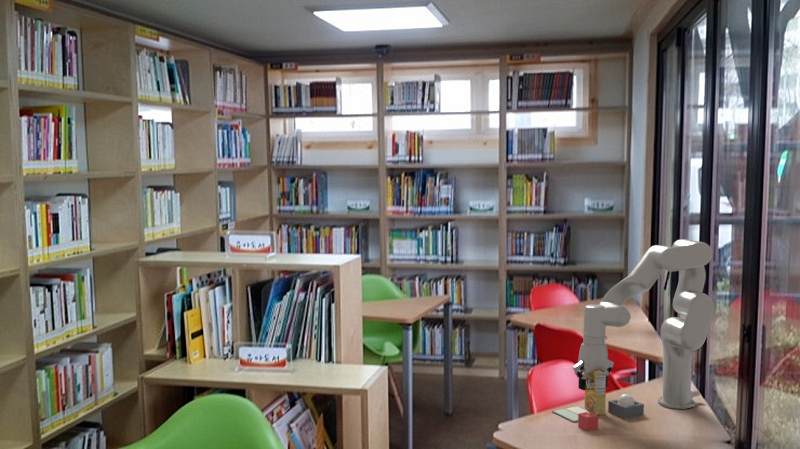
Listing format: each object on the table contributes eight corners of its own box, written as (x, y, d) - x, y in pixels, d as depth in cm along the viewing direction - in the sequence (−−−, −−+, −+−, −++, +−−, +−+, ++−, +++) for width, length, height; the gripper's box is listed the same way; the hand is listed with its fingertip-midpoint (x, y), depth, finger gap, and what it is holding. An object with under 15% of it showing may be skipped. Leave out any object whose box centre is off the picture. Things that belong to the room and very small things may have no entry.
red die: (588, 424, 237) (588, 411, 237) (597, 428, 233) (598, 415, 233) (578, 426, 235) (578, 413, 235) (587, 431, 231) (587, 417, 231)
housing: (626, 407, 253) (626, 397, 253) (643, 414, 245) (643, 404, 245) (608, 411, 249) (608, 401, 249) (625, 418, 242) (625, 408, 242)
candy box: (583, 407, 255) (584, 365, 253) (594, 406, 255) (595, 364, 254) (595, 415, 246) (595, 372, 245) (606, 414, 247) (606, 371, 246)
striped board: (576, 407, 255) (576, 405, 254) (599, 417, 244) (599, 416, 244) (552, 412, 250) (552, 410, 250) (573, 422, 239) (573, 421, 239)
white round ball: (626, 406, 251) (626, 390, 251) (637, 411, 246) (637, 395, 246) (614, 408, 249) (614, 393, 248) (625, 413, 244) (625, 397, 243)
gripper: (606, 335, 256) (604, 382, 257) (567, 340, 248) (566, 387, 249) (620, 340, 249) (619, 387, 250) (581, 344, 241) (580, 393, 243)
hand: (593, 387), depth 250 cm, fingers open, 9 cm apart
